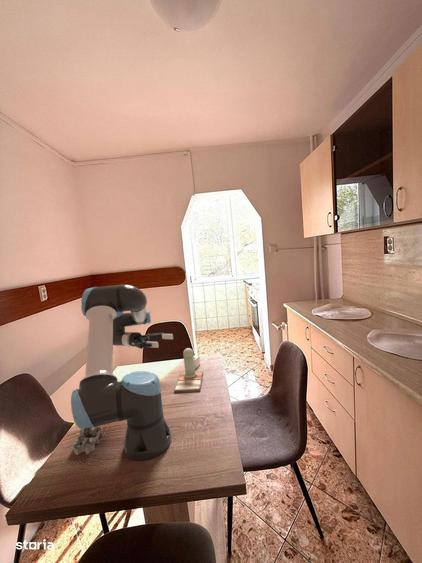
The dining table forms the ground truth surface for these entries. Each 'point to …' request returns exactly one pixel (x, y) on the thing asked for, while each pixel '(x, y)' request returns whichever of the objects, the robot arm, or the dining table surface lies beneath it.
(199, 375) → the board
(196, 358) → the die
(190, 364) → the pawn
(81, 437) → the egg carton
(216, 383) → the dining table surface
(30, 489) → the dining table surface
